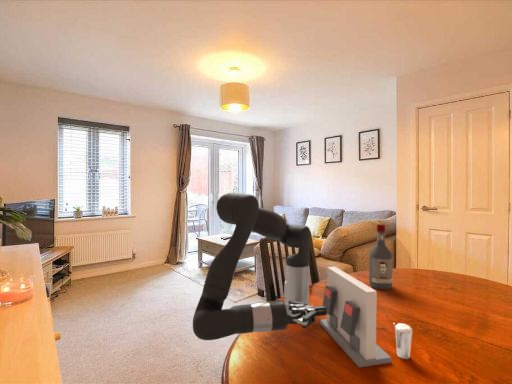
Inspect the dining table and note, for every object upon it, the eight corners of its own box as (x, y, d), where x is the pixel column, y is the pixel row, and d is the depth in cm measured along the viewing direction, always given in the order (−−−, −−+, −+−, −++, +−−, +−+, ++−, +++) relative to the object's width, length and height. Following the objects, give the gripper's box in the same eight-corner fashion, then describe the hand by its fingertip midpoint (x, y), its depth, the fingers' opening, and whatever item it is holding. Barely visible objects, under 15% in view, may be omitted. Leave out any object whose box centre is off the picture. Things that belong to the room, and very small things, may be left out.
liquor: (368, 282, 146) (368, 223, 145) (387, 283, 145) (387, 223, 144) (373, 288, 137) (373, 226, 136) (393, 289, 136) (394, 226, 135)
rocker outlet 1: (328, 314, 95) (332, 290, 95) (321, 308, 100) (325, 285, 100) (332, 315, 95) (337, 291, 95) (326, 308, 100) (329, 286, 100)
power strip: (359, 367, 79) (359, 293, 78) (319, 323, 103) (320, 267, 103) (391, 362, 81) (392, 290, 80) (345, 320, 106) (345, 265, 105)
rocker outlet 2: (348, 335, 82) (354, 307, 82) (339, 326, 87) (345, 300, 87) (354, 335, 82) (359, 308, 82) (345, 327, 87) (350, 301, 87)
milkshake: (388, 352, 86) (389, 319, 86) (405, 351, 87) (406, 318, 86) (397, 361, 82) (398, 326, 81) (415, 360, 82) (416, 325, 82)
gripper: (274, 313, 72) (337, 306, 76) (261, 293, 85) (316, 289, 89) (274, 342, 73) (337, 334, 76) (261, 318, 85) (315, 313, 89)
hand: (325, 310), depth 83 cm, fingers closed
